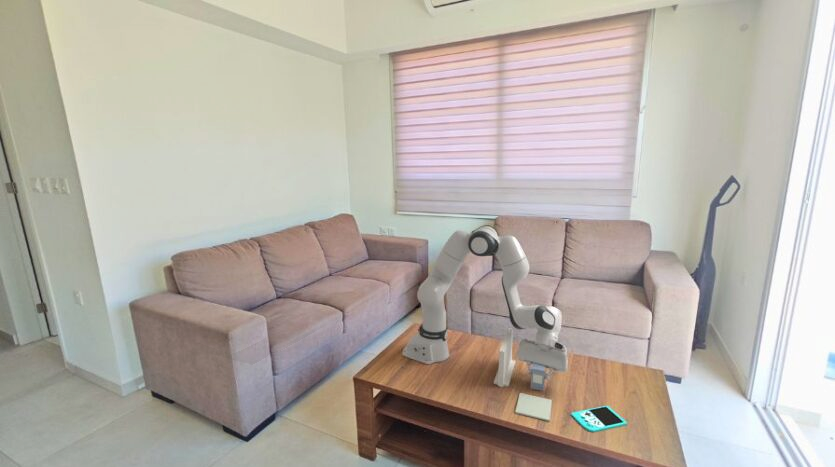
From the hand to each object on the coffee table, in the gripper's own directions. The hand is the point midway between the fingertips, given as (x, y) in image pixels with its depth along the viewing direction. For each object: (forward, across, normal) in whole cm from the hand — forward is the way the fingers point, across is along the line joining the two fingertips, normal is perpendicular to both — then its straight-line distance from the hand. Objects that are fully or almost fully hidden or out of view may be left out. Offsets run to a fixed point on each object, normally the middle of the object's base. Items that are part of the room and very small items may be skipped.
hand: (537, 376), depth 153 cm
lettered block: (+3, 0, +4) cm, 5 cm away
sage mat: (+13, +2, -6) cm, 14 cm away
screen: (+1, -15, +6) cm, 16 cm away
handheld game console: (+9, +24, -1) cm, 26 cm away
